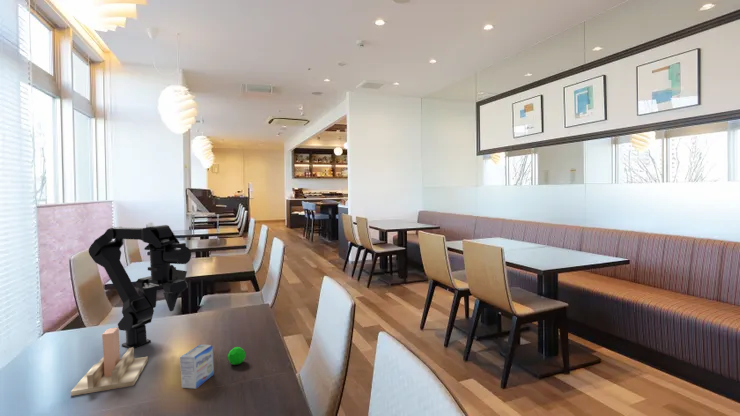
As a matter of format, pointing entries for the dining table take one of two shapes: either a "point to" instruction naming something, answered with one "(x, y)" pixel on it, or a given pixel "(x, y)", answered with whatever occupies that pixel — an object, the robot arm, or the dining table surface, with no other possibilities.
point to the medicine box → (196, 366)
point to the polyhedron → (236, 355)
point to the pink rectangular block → (110, 350)
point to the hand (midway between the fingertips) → (162, 309)
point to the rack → (121, 375)
